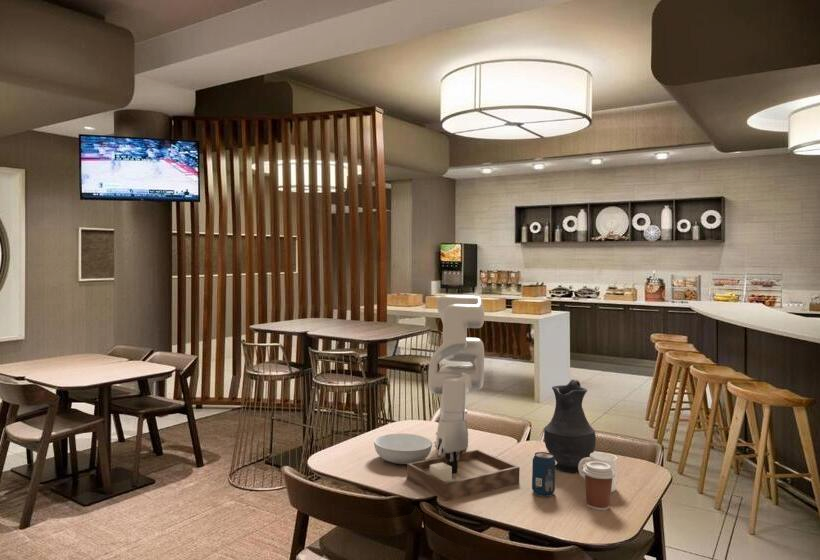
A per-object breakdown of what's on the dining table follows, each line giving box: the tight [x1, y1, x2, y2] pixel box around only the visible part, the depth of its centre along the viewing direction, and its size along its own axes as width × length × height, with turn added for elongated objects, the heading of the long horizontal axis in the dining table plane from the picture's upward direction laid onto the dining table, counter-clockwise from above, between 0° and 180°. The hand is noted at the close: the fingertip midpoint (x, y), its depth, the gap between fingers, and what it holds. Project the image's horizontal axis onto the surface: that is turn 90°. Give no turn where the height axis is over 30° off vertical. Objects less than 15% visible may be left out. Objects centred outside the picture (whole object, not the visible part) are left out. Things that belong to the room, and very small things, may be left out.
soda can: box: [531, 451, 556, 498], centre depth 178 cm, size 7×7×12 cm
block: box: [430, 462, 452, 481], centre depth 182 cm, size 5×5×4 cm
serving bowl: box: [373, 432, 433, 465], centre depth 207 cm, size 21×21×7 cm
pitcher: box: [543, 379, 597, 474], centre depth 202 cm, size 17×21×30 cm
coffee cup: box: [583, 461, 615, 511], centre depth 169 cm, size 9×9×12 cm
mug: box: [578, 451, 618, 493], centre depth 184 cm, size 12×8×10 cm
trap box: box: [406, 449, 520, 502], centre depth 187 cm, size 30×21×5 cm
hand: (452, 472), depth 185 cm, fingers closed
